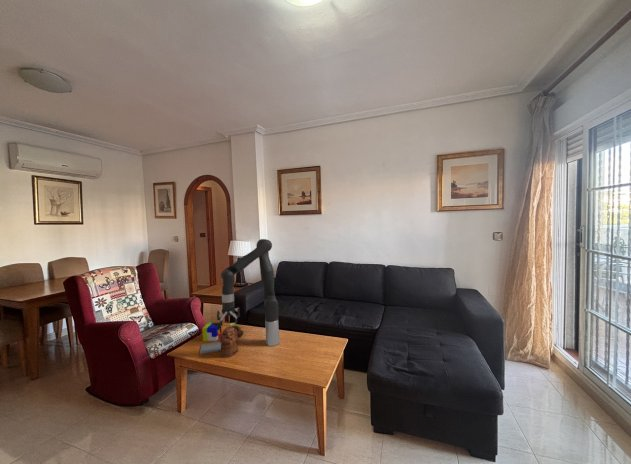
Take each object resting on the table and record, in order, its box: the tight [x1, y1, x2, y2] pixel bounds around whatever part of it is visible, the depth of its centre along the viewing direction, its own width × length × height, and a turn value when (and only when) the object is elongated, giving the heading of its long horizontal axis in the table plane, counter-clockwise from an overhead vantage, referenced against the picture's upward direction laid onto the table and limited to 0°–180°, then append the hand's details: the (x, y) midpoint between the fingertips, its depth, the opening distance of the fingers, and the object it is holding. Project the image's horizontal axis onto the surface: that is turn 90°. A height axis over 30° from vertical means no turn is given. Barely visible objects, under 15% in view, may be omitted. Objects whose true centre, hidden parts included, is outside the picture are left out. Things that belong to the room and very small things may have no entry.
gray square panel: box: [199, 341, 222, 356], centre depth 176 cm, size 14×13×1 cm
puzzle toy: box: [202, 322, 223, 342], centre depth 192 cm, size 10×10×10 cm
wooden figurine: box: [219, 326, 239, 359], centre depth 168 cm, size 12×6×18 cm, turn 153°
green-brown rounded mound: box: [228, 322, 245, 339], centre depth 196 cm, size 17×16×10 cm
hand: (228, 324), depth 167 cm, fingers open, 8 cm apart
